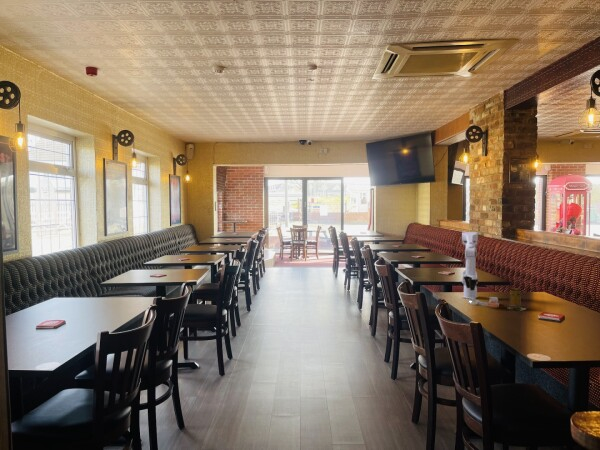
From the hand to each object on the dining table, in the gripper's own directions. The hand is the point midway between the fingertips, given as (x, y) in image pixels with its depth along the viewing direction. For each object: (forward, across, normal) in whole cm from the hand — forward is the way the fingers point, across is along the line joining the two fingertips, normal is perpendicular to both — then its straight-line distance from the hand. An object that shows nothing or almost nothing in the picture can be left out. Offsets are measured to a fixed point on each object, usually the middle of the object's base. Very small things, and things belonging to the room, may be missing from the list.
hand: (470, 289), depth 269 cm
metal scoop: (+10, +1, +7) cm, 12 cm away
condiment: (+10, +10, +24) cm, 28 cm away
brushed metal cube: (+10, -1, +14) cm, 17 cm away
